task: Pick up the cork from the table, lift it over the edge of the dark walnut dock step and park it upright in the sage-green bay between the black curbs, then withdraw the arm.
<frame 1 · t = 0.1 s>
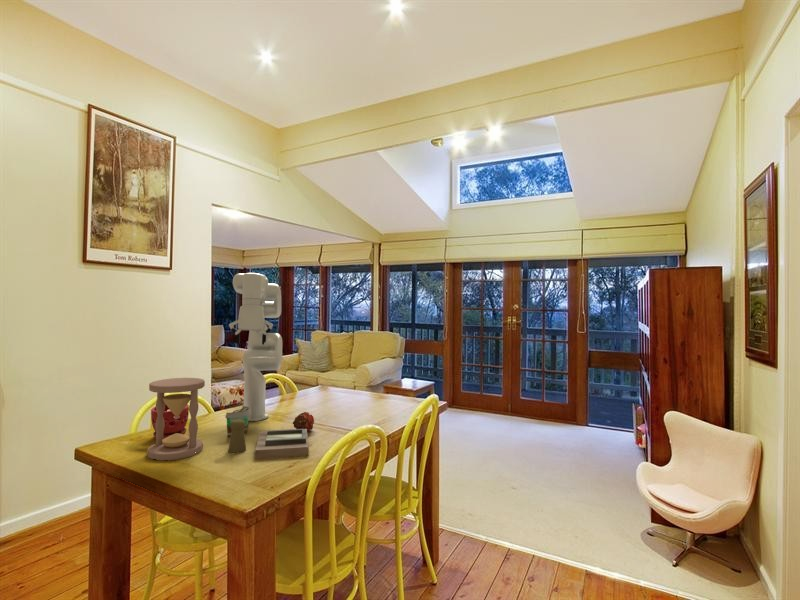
hand: (250, 344, 171), 37 cm above the table, tool pointing down, fingers open, 9 cm apart
food container: (241, 434, 169), on the table
hourglass: (175, 452, 148), on the table
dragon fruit: (303, 431, 176), on the table
dock: (282, 446, 155), on the table
cork: (237, 451, 150), on the table
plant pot: (169, 437, 165), on the table
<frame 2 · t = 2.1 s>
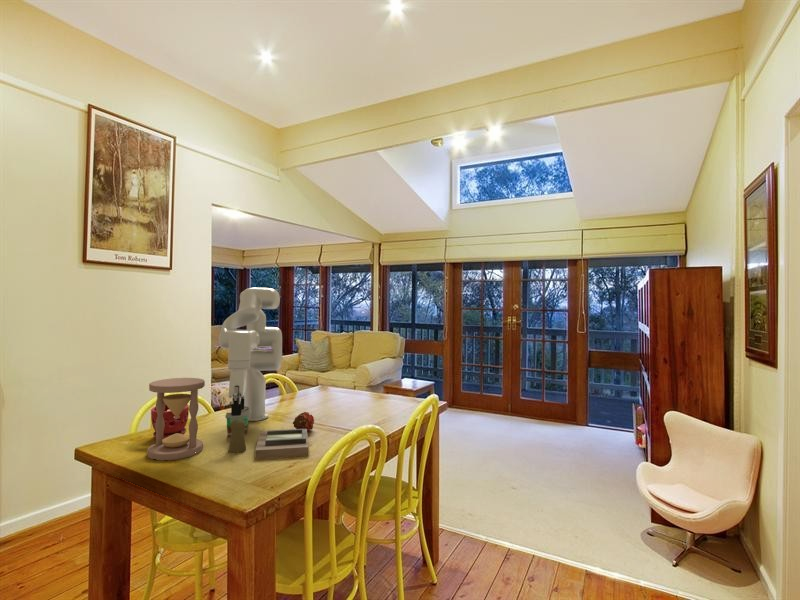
hand: (237, 412, 150), 14 cm above the table, tool pointing down, fingers open, 9 cm apart
nothing on the table moved.
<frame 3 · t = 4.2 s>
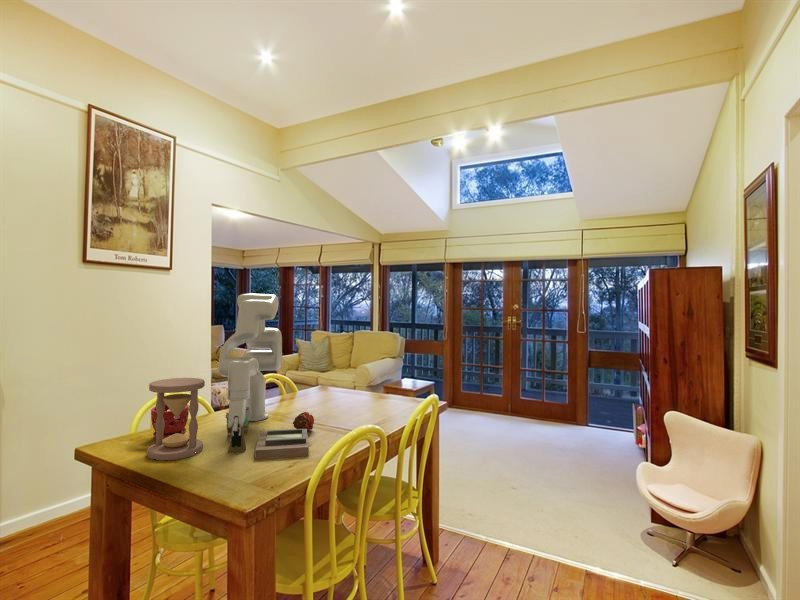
hand: (237, 444, 150), 2 cm above the table, tool pointing down, fingers closed on cork, 4 cm apart
cork: (237, 451, 150), on the table, touching gripper
everything else where it was.
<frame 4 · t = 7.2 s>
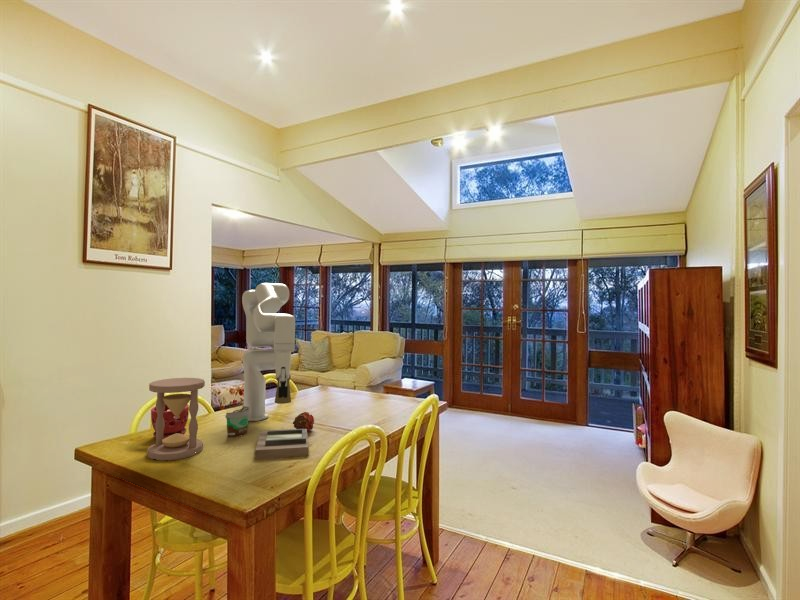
hand: (283, 395, 155), 19 cm above the table, tool pointing down, fingers closed on cork, 4 cm apart
cork: (282, 402, 155), point 17 cm above the table, touching gripper
everything else where it was.
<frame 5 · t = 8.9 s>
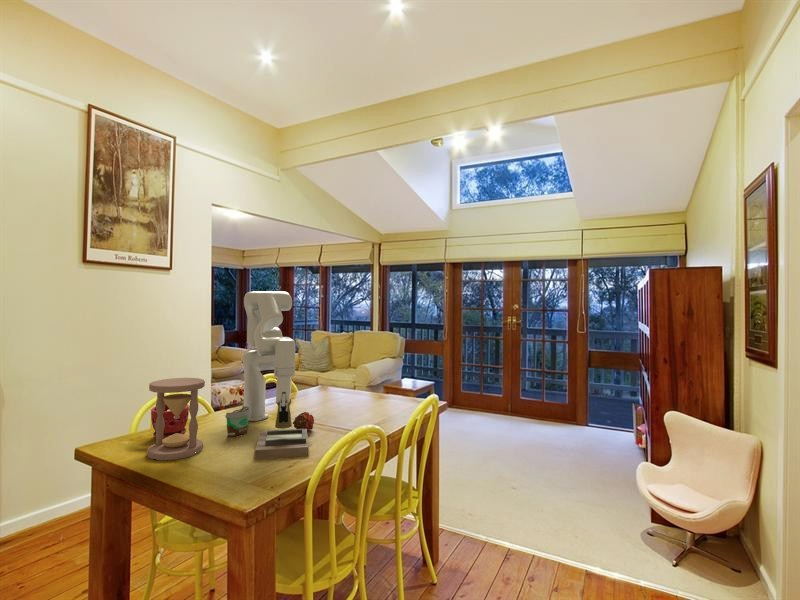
hand: (283, 420, 155), 10 cm above the table, tool pointing down, fingers closed on cork, 4 cm apart
cork: (283, 426, 155), point 7 cm above the table, touching gripper
everything else where it was.
when the fingers open (7 cm above the table, at t = 10.3 s): cork drops 1 cm, resting on dock.
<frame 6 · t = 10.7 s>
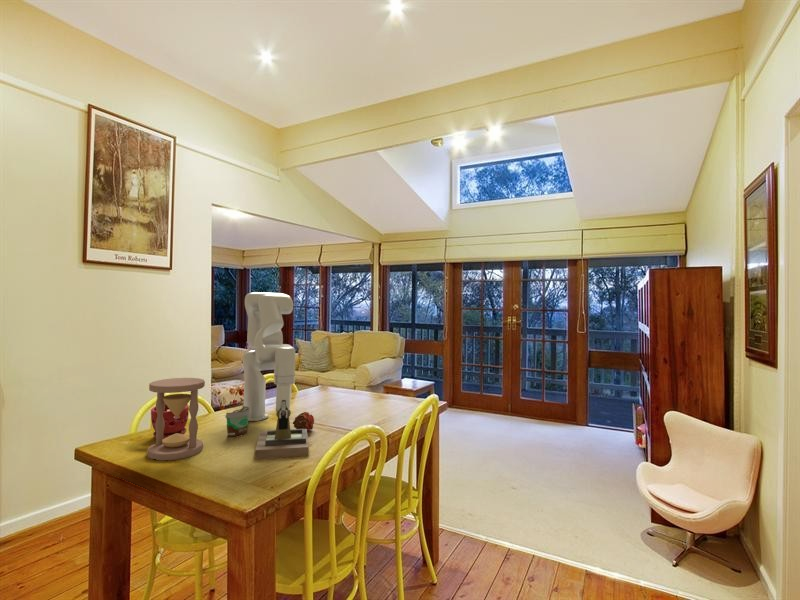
hand: (283, 425, 155), 8 cm above the table, tool pointing down, fingers open, 8 cm apart
cork: (282, 438, 155), point 3 cm above the table, touching dock
everything else where it was.
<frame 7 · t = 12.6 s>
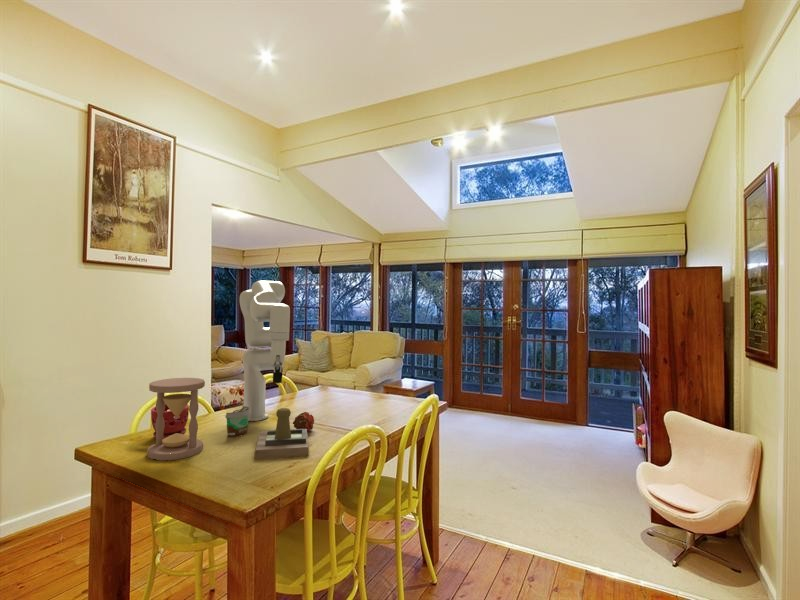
hand: (277, 380, 161), 24 cm above the table, tool pointing down, fingers open, 9 cm apart
nothing on the table moved.
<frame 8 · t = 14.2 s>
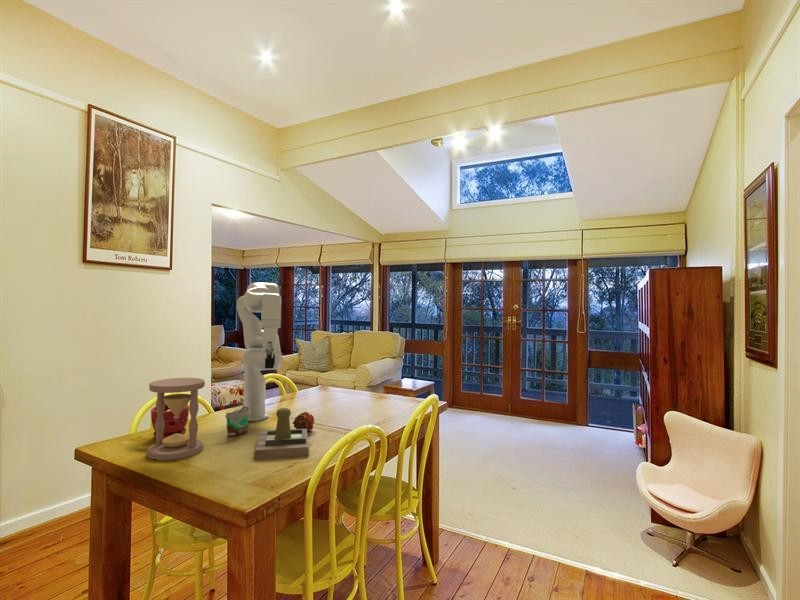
hand: (269, 366, 167), 28 cm above the table, tool pointing down, fingers open, 9 cm apart
nothing on the table moved.
at the end: cork inside the target area on the dock (0.7 cm from its centre), point 3.0 cm above the dock's base; cork tilted 0°; the gripper is holding nothing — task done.
